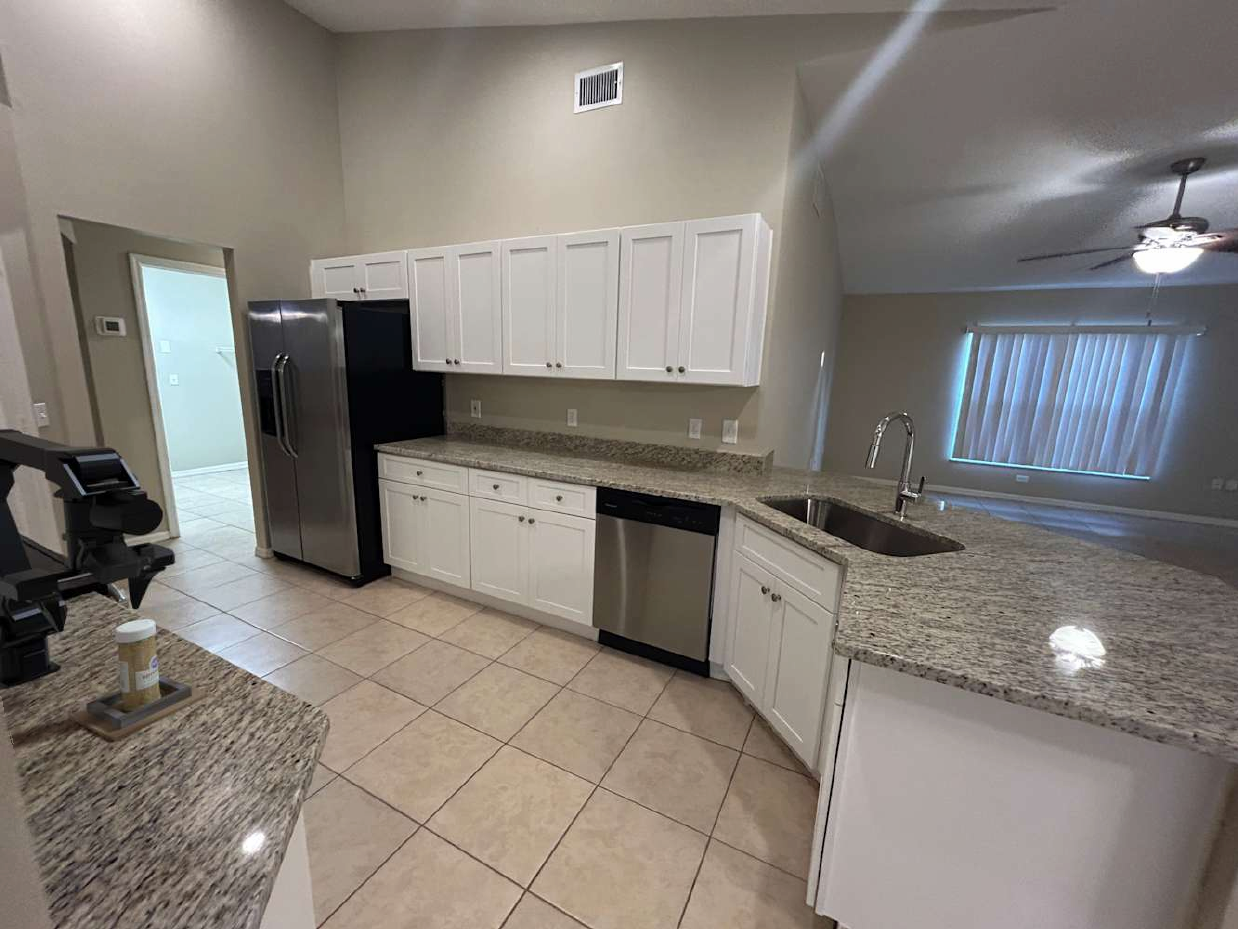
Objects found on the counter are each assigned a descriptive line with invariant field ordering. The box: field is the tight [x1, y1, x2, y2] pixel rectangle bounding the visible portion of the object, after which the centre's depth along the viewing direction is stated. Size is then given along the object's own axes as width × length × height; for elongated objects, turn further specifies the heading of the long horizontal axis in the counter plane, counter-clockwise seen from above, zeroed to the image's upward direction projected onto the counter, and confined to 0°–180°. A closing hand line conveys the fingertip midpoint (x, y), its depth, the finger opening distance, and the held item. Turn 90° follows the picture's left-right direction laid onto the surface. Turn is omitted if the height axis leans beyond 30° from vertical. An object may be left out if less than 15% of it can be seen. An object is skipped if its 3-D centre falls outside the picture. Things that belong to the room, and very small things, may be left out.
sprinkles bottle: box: [114, 618, 161, 711], centre depth 78 cm, size 5×5×13 cm
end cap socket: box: [68, 674, 209, 743], centre depth 79 cm, size 12×12×2 cm
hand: (99, 619), depth 80 cm, fingers open, 9 cm apart
